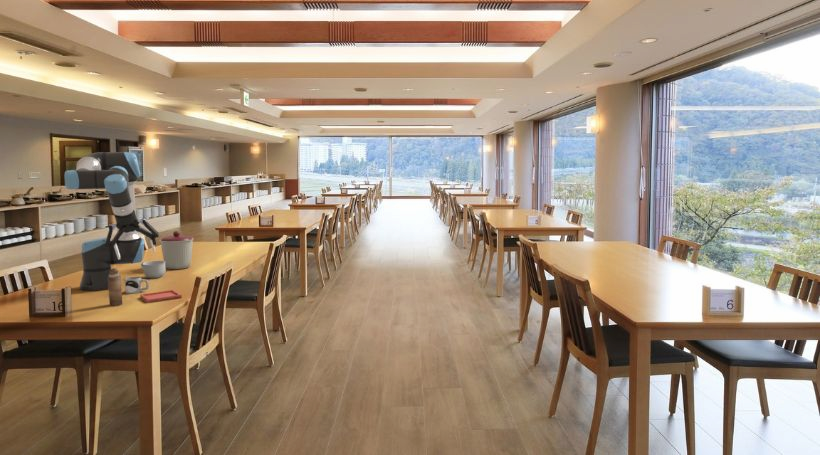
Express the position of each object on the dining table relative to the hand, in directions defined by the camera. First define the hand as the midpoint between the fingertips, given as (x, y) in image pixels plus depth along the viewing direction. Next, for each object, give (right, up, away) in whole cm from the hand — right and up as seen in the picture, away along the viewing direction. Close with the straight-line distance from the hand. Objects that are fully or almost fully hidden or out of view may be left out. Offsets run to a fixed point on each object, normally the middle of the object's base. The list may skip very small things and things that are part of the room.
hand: (137, 254), depth 233 cm
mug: (-11, -19, +23) cm, 31 cm away
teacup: (-19, -15, +56) cm, 61 cm away
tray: (+5, -20, +11) cm, 23 cm away
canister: (-16, -12, +80) cm, 83 cm away
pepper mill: (-9, -21, 0) cm, 23 cm away
